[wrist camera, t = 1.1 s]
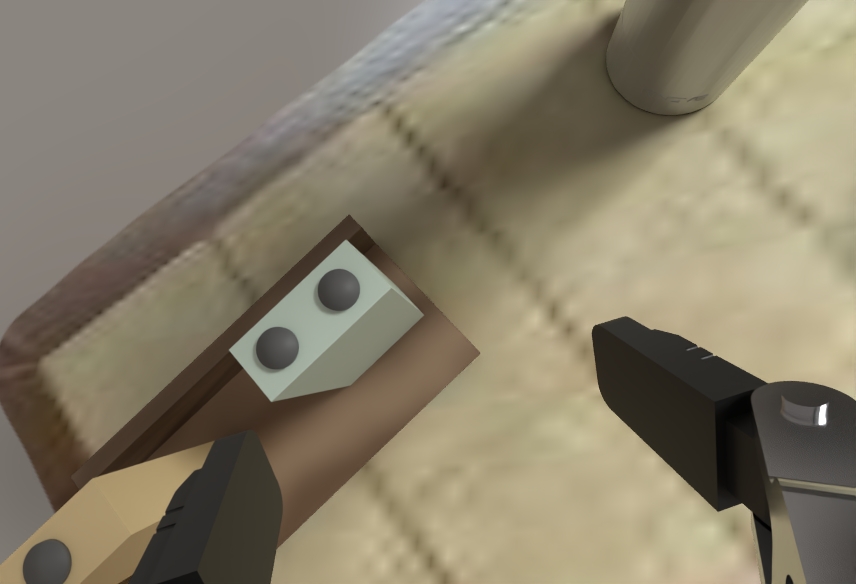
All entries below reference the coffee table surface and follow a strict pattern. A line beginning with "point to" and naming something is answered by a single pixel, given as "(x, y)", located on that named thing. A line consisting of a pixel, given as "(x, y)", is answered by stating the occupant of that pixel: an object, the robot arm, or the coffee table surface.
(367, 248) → the tile rack
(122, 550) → the tile one
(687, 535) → the coffee table surface
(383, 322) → the tile two
